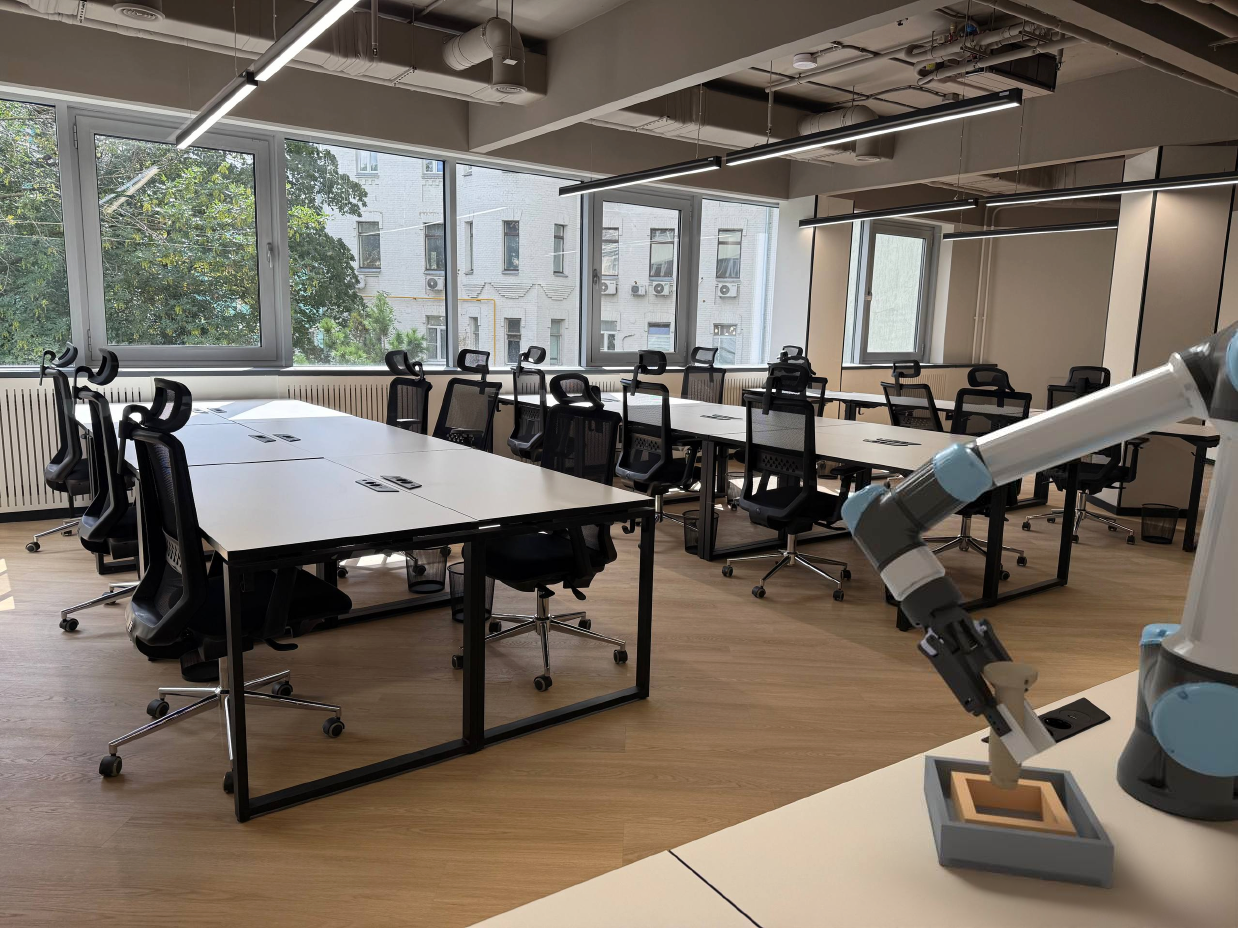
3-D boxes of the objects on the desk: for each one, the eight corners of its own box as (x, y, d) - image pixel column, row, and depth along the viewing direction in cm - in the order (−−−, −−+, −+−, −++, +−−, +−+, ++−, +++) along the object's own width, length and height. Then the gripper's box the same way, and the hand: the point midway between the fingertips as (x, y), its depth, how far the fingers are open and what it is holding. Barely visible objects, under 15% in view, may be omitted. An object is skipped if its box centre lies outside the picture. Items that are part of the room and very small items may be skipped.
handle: (1039, 789, 103) (1046, 672, 101) (999, 799, 100) (1006, 679, 98) (1007, 771, 107) (1014, 659, 105) (968, 780, 105) (975, 665, 103)
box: (1067, 806, 110) (1069, 770, 110) (1110, 888, 93) (1114, 845, 92) (923, 789, 115) (925, 754, 114) (939, 864, 97) (941, 824, 97)
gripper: (940, 594, 118) (1049, 748, 107) (865, 613, 109) (976, 785, 97) (977, 564, 114) (1095, 723, 102) (902, 582, 104) (1023, 760, 92)
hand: (1037, 753), depth 100 cm, fingers closed on handle, 3 cm apart
